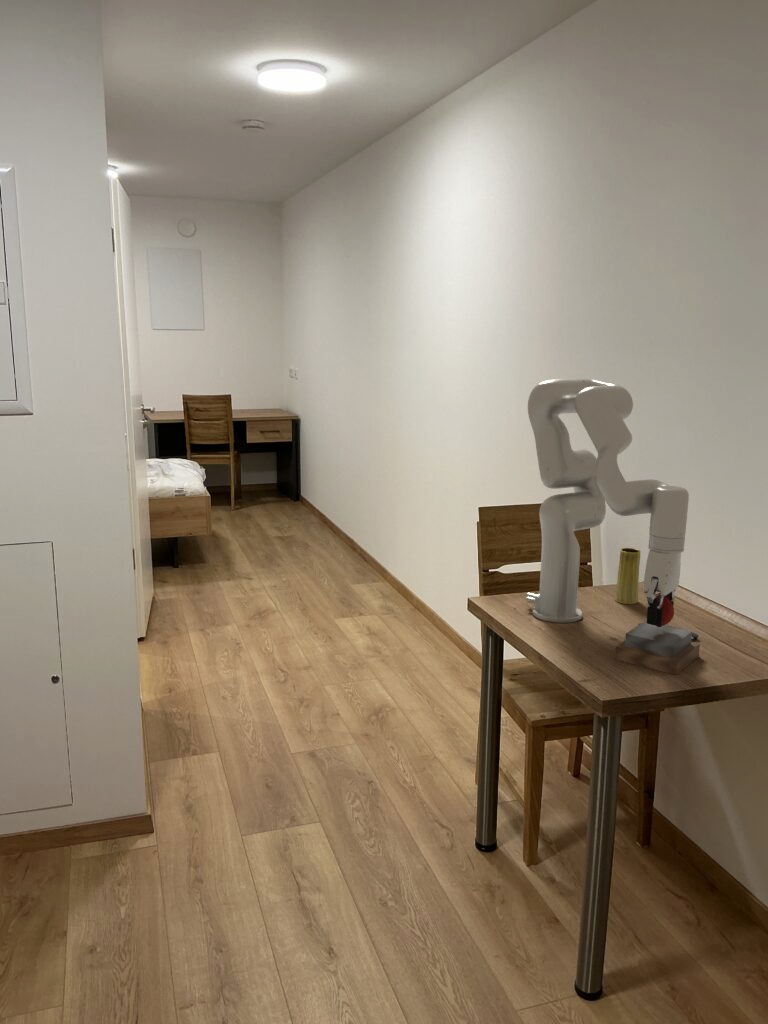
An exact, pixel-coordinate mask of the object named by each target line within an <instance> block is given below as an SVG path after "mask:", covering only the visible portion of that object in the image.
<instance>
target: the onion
mask: <svg viewBox="0 0 768 1024" xmlns="http://www.w3.org/2000/svg"><path fill="white" fill-rule="evenodd" d="M660 593H661V592H658V593H657V594H660ZM655 599H657V601H659V597H655ZM661 609H663V613H662V624H661V626H657V627H662V626H664V625H666V626H667V624H669V623H670V622H672V619H674V615H675V608H674V605H672V603H671V601H670V600H669V599H668V598H666V597H665V596H664V597H663V602H662V607H661ZM647 610H648V606H647V605H646V611H647Z"/></svg>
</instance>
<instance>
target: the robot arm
mask: <svg viewBox="0 0 768 1024" xmlns="http://www.w3.org/2000/svg"><path fill="white" fill-rule="evenodd" d="M633 407H634V402H633V398H632V395H631V393H630V392H629V391H628V390H627V389H626V388H625V387H623V386H621V385H618V384H614V383H609V382H606V381H601V380H596V379H593V378H559V379H558V378H557V379H556V378H554V379H548V380H544V381H542V382H541V381H540V383H538V384H536V385H535V386H534V387H533V389H532V390H531V392H530V393H529V396H528V402H527V414H528V418H529V419H528V420H529V422H530V426H531V428H532V432H533V435H534V442H535V449H536V456H537V461H538V468H539V470H538V471H539V475H540V476H539V477H540V479H541V482H542V484H543V486H545V487H546V488H547V489H551V490H552V489H553V490H556V489H557V490H558V489H559V490H560V489H568V488H573V492H568V493H561V494H560V493H559V494H554V495H550V496H549V497H547V498H546V499H544V500H543V501H542V502H541V504H540V507H539V515H538V516H539V521H540V523H539V524H540V530H541V554H540V555H541V557H540V572H539V573H540V577H539V593H538V594H536V593H533V592H527V593H526V596H525V597H526V599H525V600H526V602H527V603H530V604H534V606H533V607H532V611H531V612H532V615H533V616H534V617H535V618H537V619H540V620H543V621H546V622H551V623H561V624H562V623H573V622H577V621H579V620H581V619H582V618H583V612H582V610H581V609H580V608H578V607H577V606H578V605H577V604H578V590H579V576H580V575H579V574H580V572H579V571H580V560H581V559H580V558H581V557H580V556H581V555H580V553H581V549H580V544H579V541H578V539H577V537H576V535H575V531H581V530H582V531H583V530H587V529H593V528H596V527H598V526H600V525H601V524H602V523H603V521H604V519H605V516H606V512H607V508H606V506H608V507H609V508H610V510H611V511H612V512H613V513H615V514H616V515H618V516H622V517H628V516H629V517H630V516H635V515H644V514H647V515H648V514H650V521H649V532H648V534H649V535H648V542H647V543H648V545H647V548H648V554H647V557H646V558H647V559H646V562H645V563H646V564H645V570H644V576H643V584H642V585H643V586H642V592H643V594H646V597H645V598H646V600H647V605H646V607H647V606H648V610H647V609H646V621H647V624H651V625H655V626H661V624H662V613H663V609H661V607H662V602H663V597H664V596H665V597H666V598H668V599H669V600H670V601H671V603H672V605H673V606H674V605H675V602H674V601H675V596H676V595H675V592H676V589H677V588H678V587H679V585H680V576H681V564H682V562H681V559H682V558H681V557H682V553H684V551H685V543H686V541H685V540H686V532H687V520H688V509H689V499H690V497H689V496H690V495H689V491H688V490H687V489H686V488H684V487H681V486H677V485H676V486H675V485H670V484H667V483H665V482H663V481H660V480H658V479H643V480H642V479H640V480H639V479H638V480H632V481H631V480H630V481H626V479H625V477H624V476H623V474H622V472H621V469H620V467H619V464H618V456H619V455H620V454H622V453H623V452H624V451H625V450H626V449H628V448H629V446H630V445H631V443H632V442H633V436H632V434H631V431H630V430H629V428H628V426H627V425H626V423H625V419H627V418H628V417H629V416H630V415H631V413H632V411H633V409H634V408H633ZM561 414H577V415H578V417H579V420H580V421H581V423H582V425H583V427H584V429H585V431H586V433H587V435H588V436H589V439H590V440H591V442H592V444H593V445H594V447H595V449H596V452H597V457H596V456H595V455H594V453H592V451H590V450H587V449H582V448H581V449H580V448H579V449H578V448H577V449H573V448H572V445H571V439H570V434H569V430H568V428H567V426H566V425H565V423H564V422H563V420H562V419H561V418H560V417H559V415H561ZM606 504H607V505H606ZM656 592H658V593H660V594H658V593H656ZM655 597H659V601H657V599H655Z"/></svg>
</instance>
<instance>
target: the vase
mask: <svg viewBox="0 0 768 1024" xmlns="http://www.w3.org/2000/svg"><path fill="white" fill-rule="evenodd" d="M640 561H641V550H640V549H637V548H634V547H633V548H632V547H622V548H620V554H619V562H618V563H619V564H618V571H617V581H616V591H615V597H614V600H615V602H617V603H619V604H623V605H636V604H637V603H639V581H640V580H639V579H640V576H639V575H640Z"/></svg>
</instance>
